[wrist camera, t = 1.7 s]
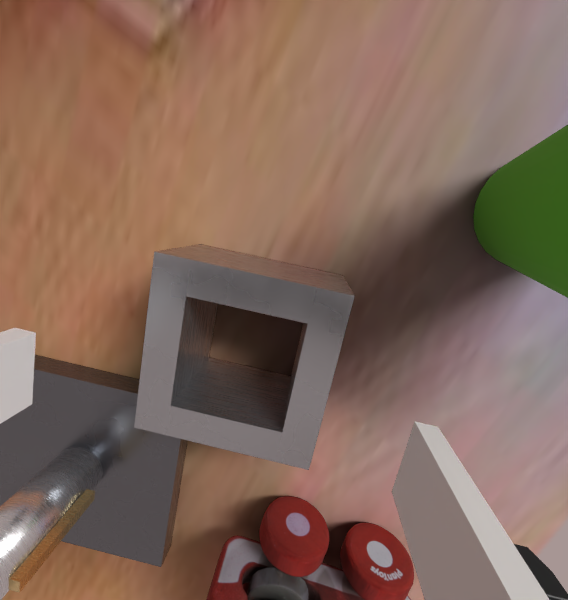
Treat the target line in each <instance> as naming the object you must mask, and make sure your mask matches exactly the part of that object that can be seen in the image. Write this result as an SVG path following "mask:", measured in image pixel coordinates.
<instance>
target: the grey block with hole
mask: <svg viewBox="0 0 568 600" xmlns="http://www.w3.org/2000/svg"><path fill="white" fill-rule="evenodd" d="M354 297H355V295H354V294H353V292H352V290H351V288H350V287H349V285H348V283H347V282H346V280H345V278H344V276H343V275H340V274H335V273H330V272H326V271H321V270H317V269H312V268H308V267H303V266H298V265H294V264H289V263H285V262H280V261H276V260H271V259H266V258H262V257H257V256H253V255H248V254H243V253H239V252H234V251H230V250H225V249H221V248H216V247H211V246H207V245H202V244H199V245H192V246H186V247H180V248H174V249H167V250H161V251H155V252H154V260H153V269H152V277H151V286H150V294H149V303H148V312H147V320H146V329H145V338H144V346H143V355H142V364H141V372H140V381H139V390H138V398H137V407H136V416H135V424H134V428H138V429H143V430H147V431H151V432H155V433H159V434H163V435H167V436H171V437H175V438H179V439H184V440H188V441H192V442H196V443H200V444H204V445H208V446H212V447H216V448H221V449H225V450H229V451H233V452H237V453H241V454H245V455H249V456H253V457H257V458H262V459H266V460H270V461H274V462H278V463H282V464H286V465H290V466H294V467H299V468H303V469H307V470H309V467H310V463H311V460H312V456H313V452H314V448H315V445H316V441H317V437H318V433H319V429H320V426H321V422H322V418H323V414H324V410H325V407H326V403H327V399H328V395H329V391H330V388H331V384H332V380H333V376H334V373H335V369H336V365H337V361H338V357H339V354H340V350H341V346H342V342H343V338H344V335H345V331H346V327H347V323H348V319H349V316H350V312H351V308H352V304H353V301H354ZM218 304H222V305H227V306H231V307H236V308H240V309H245V310H249V311H253V312H258V313H262V314H267V315H271V316H276V317H280V318H285V319H289V320H293V321H298V322H302V323H303V327H302V331H301V335H300V340H299V344H298V348H297V353H296V357H295V361H294V366H293V370H292V374H291V376H287V375H283V374H279V373H274V372H270V371H266V370H261V369H257V368H253V367H248V366H244V365H240V364H236V363H231V362H227V361H223V360H218V359H214V358H210V357H209V356H210V350H211V344H212V338H213V332H214V325H215V319H216V313H217V307H218Z"/></svg>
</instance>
